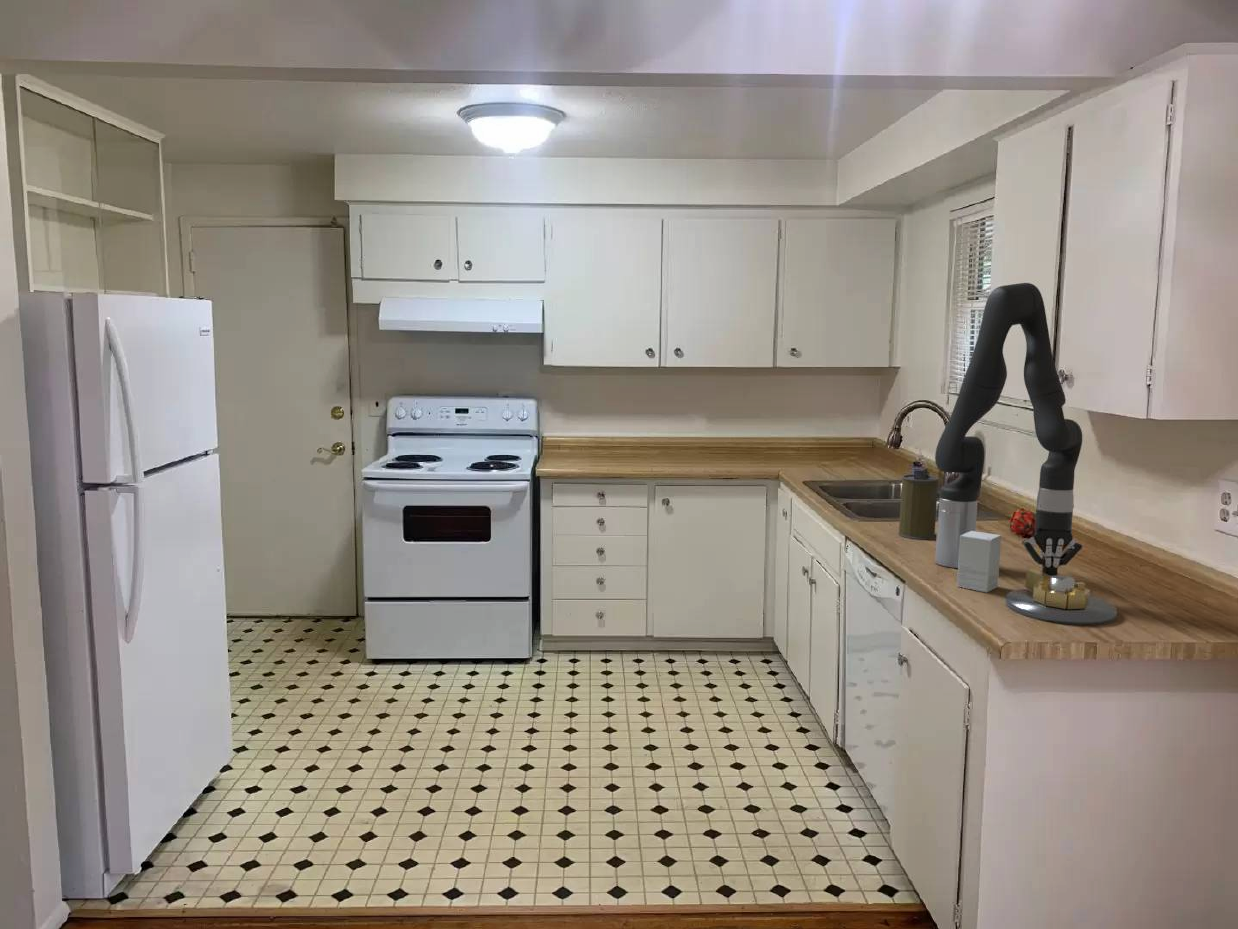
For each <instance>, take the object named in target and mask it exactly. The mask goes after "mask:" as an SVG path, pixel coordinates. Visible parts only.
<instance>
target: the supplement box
mask: <svg viewBox="0 0 1238 929" xmlns="http://www.w3.org/2000/svg"><path fill="white" fill-rule="evenodd" d="M1001 541H1002V535H1001V534H994V533H990V532H988V533H987V532H982V531H977V530H975V531H970V532H967V533H965V534H963V535H960V547H959V562H958V568H957V583H956V587H957V586H958V587H957V588H961V587H962V588H961V589H967V590H971V589H972V591H977V592H982V593H989V592H991V591H993V590H994V589H996V588H998V587H999V574H1000V572H999V571H1000V557H1001V544H1002V542H1001Z"/></svg>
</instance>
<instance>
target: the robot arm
mask: <svg viewBox="0 0 1238 929" xmlns="http://www.w3.org/2000/svg"><path fill="white" fill-rule="evenodd" d="M1042 295H1043V294H1042V293H1041V291H1040V289H1039V288H1038V287H1037V286H1036V285H1035V284H1033V283H1029V282H1019V283H1014V284H1013V283H1012V284H1008V285H1007V284H1005V285H1001V286H998V287H995V288H993V290H991V292H990V294H989V295H988V297H987V300H986V303H985V306H984V309H983V312H982V318H981V322H980V327H979V331H978V336H977V340H976V343H975V346H974V347H973V351H972V355H971V358H970V361H969V364H968V366H967V369H966V371H965V374H964V376H963V380H962V383H961V386H960V389H959V392H958V395H957V398H956V402H955V404H954V407H953V410H952V411H951V414H950V417H949V419H948V421H947V423H946V425H945V427H944V429H943V431H942V434H940V435H941V436H940V438H939V440H938V443H937V446H936V449H935V454H934V461H935V466H936V468H937V469H938V470H939V471H940V472H943V473H951V474H952V473H956V474H957V473H959V475H958V477H957V478H955V479H954V480H952V481H950V482H948V483H946V484H944V485H942V486H941V487H940V488H939V498H938V499H939V500H938V501H939V503H938V513H937V514H938V517H937V527H936V528H937V529H936V538H935V539H936V541H935V553H934V555H935V556H934V560H935V561H934V562H935V564H937V565H939V566H942V567H949V568H953V569H954V568H955V569H958V562H959V547H960V535H963V534H965V533H967V532H970V531H976V530H977V529H976V528H977V513H978V501H979V500H978V499H979V493H980V490H981V487H982V480H983V479H982V478H983V474H984V473H983V471H984V465H985V452H986V451H985V446H984V443H983V441H982V440H981V438H979V437H978V436H968V435H967V434H968V432H969V431H970V429H971V428H972V427H973V426H974V425H975V424H976V423H977V422H978V421H979V420H981V419H982V418H983V417H984V416H985V415H987V413H989V412H990V411H991V410H992V409H993V408H994V407H995V406H996V404H997V403H998V401H999V400H1000V397H1001V395H1002V392H1003V389H1004V387H1005V385H1006V381H1007V378H1008V369H1007V364H1006V360H1005V356H1004V351H1003V350H1004V344H1005V342H1006V338H1007V336H1008V333H1009V332H1010V330H1011V328H1012V327H1013V326H1017V325H1020V326H1021V329H1022V331H1023V334H1024V337H1025V345H1026V347H1025V348H1026V349H1025V350H1026V351H1025V359H1024V366H1023V380H1024V385H1025V388H1026V391H1027V394H1028V398H1029V400H1030V403H1031V406H1032V408H1033V409H1032V410H1033V412H1032V413H1033V422H1034V430H1035V436H1036V438H1037V440H1038V442H1039V444H1040V446H1042V448H1043V449H1044V450H1046V451H1047V452H1048V455H1047V458H1046V461H1044V463H1042V464H1041V467H1040V472H1039V482H1038V483H1039V485H1038V490H1037V497H1036V509H1035V513H1036V519H1035V530H1034V532H1033V534H1032V536H1030V538H1028V539H1026V540H1022V541H1021V544H1022V546H1023V547H1024V548H1025V550H1026V552H1027V553H1028V555H1030V557H1031V558H1032V559H1033V561H1034V562H1035V563H1037V564H1038V565H1041V566H1042V570H1041V572H1043V573H1045V574H1048V575H1050V576H1054V575H1058V569H1059V567H1061V566H1066V565H1067V564H1068V563H1069V562H1070V561H1071V560H1072V559H1073V558H1074V557H1075V556H1076V555H1077V553H1079V552H1080V551H1081V550H1082V549H1083V545H1082V544H1081V543H1080V542H1077V541H1076V540H1074V536H1073V534H1072V527H1073V526H1072V525H1073V516H1074V515H1073V512H1074V508H1075V505H1074V504H1075V503H1074V500H1075V497H1074V496H1075V495H1074V488H1075V487H1074V486H1075V470H1076V467H1077V463H1078V460H1079V457H1080V454H1081V450H1082V445H1083V432H1082V431H1083V430H1082V427H1081V426H1080V425H1079V424H1078V422H1076V421H1075V420H1073V419H1070V418H1065V415H1064V410H1063V407H1064V405H1066V395H1065V391H1064V389H1063V386H1062V383H1061V380H1060V377H1059V374H1058V371H1057V368H1056V365H1055V361H1054V356H1053V351H1052V346H1051V339H1050V332H1049V325H1048V321H1047V320H1048V319H1047V313H1046V307H1045V302H1044V298H1043V296H1042ZM966 435H967V436H966ZM1036 545H1037V547H1038V548H1039V549H1040V553H1041V556H1040V555H1039V553H1038V552H1037V550H1036V549H1035V548H1036ZM1066 547H1067V549H1066ZM1065 549H1066V550H1065ZM1064 550H1065V551H1064ZM1063 551H1064V552H1063Z"/></svg>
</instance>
